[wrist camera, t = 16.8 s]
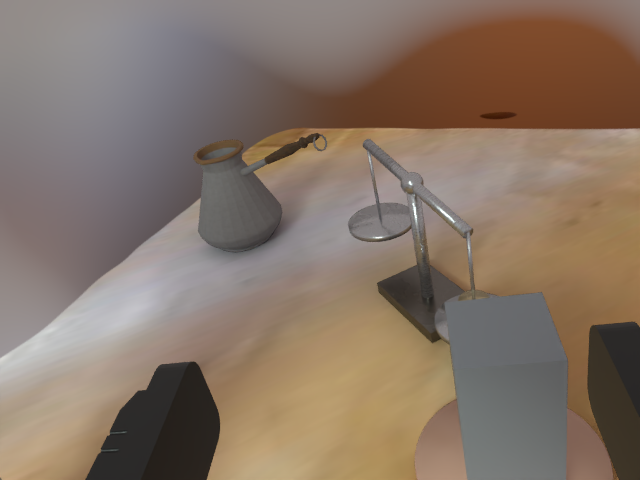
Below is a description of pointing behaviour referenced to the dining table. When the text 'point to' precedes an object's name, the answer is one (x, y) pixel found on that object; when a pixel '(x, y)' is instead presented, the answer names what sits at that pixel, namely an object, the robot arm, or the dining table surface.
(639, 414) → the robot arm
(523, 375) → the grey rectangular block
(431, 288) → the tipped balance
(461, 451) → the terracotta dish
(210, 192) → the coffee pot
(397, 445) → the dining table surface
